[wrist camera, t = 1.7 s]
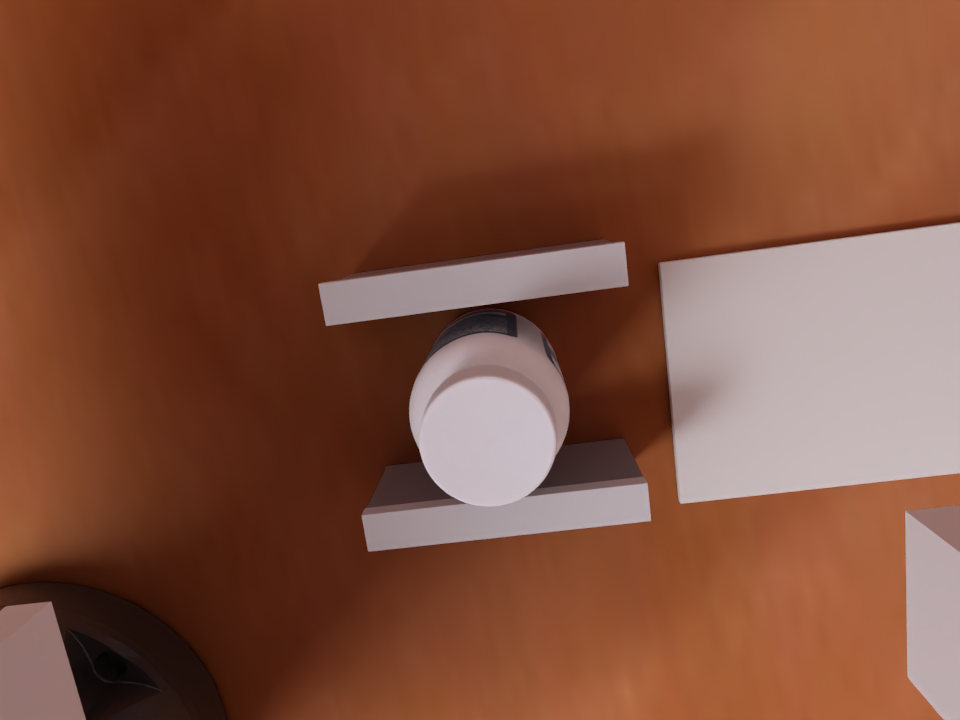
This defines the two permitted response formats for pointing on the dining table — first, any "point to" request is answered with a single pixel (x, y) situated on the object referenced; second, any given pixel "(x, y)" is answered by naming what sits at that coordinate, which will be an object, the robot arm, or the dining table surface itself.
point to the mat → (814, 363)
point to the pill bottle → (489, 408)
